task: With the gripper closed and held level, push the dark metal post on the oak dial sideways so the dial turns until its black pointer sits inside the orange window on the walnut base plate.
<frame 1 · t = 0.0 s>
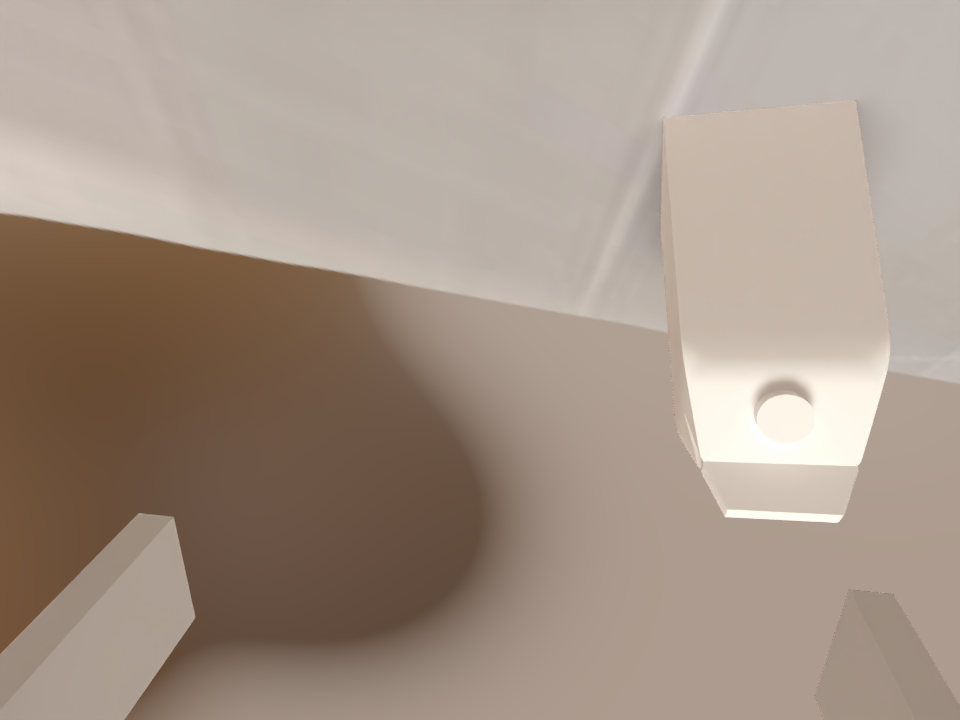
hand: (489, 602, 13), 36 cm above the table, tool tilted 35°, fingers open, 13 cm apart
milk: (745, 170, 49), on the table
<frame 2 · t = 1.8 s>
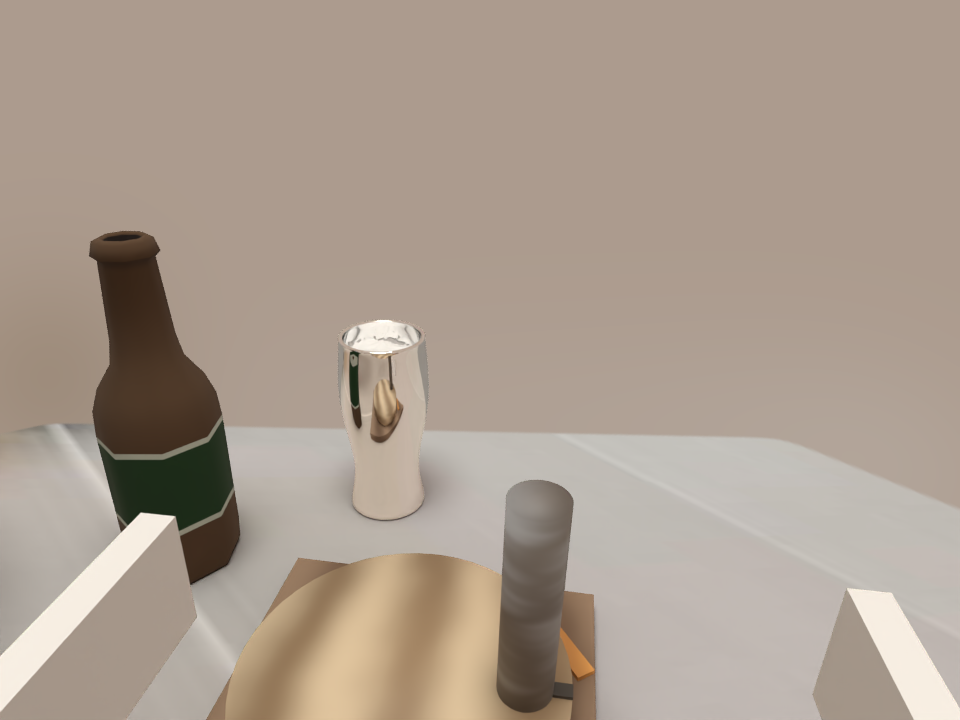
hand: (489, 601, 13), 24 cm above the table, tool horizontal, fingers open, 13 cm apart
cam dial: (401, 606, 33), point 9 cm above the table, hinge at 0.0°
beer bottle: (188, 553, 49), on the table
beer glass: (388, 499, 56), on the table
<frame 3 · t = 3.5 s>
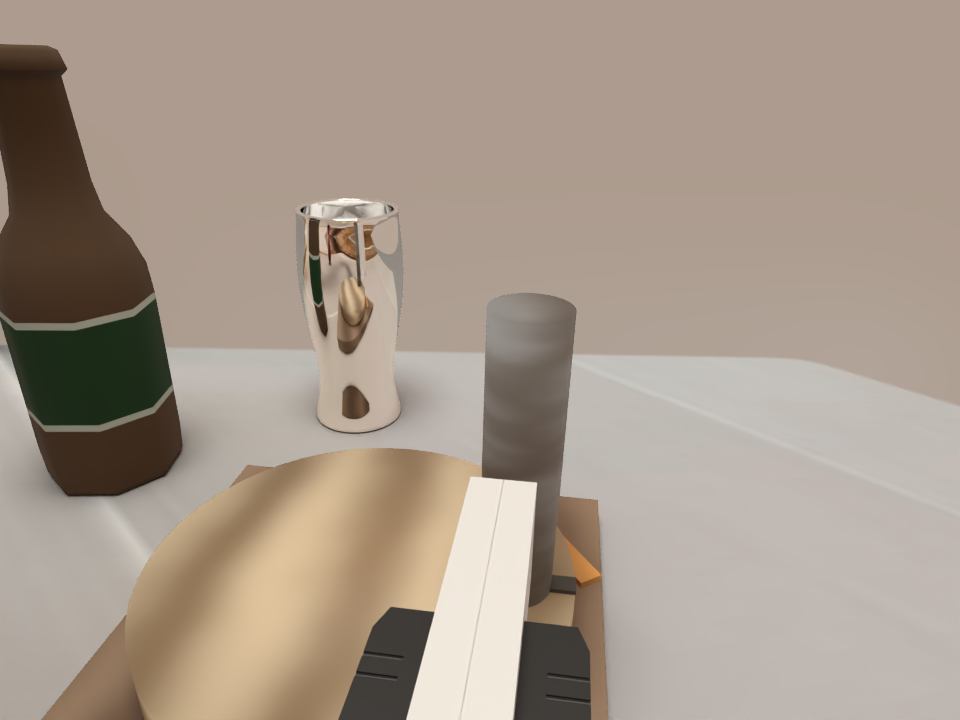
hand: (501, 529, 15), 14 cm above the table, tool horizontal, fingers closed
cam dial: (356, 474, 26), point 9 cm above the table, hinge at 0.0°
dial base: (367, 638, 30), on the table
beer bottle: (119, 465, 42), on the table
beer glass: (359, 414, 48), on the table
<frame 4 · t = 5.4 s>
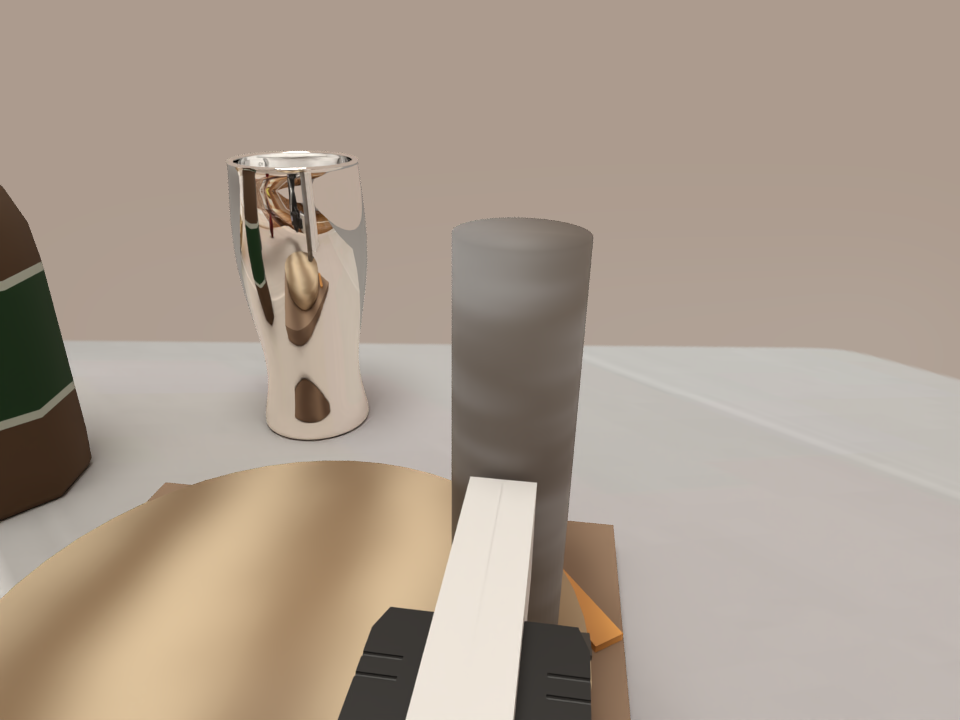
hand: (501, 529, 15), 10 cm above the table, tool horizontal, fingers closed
cam dial: (263, 505, 17), point 9 cm above the table, hinge at 4.1°, touching gripper
beer bottle: (8, 484, 33), on the table
beer glass: (318, 417, 40), on the table
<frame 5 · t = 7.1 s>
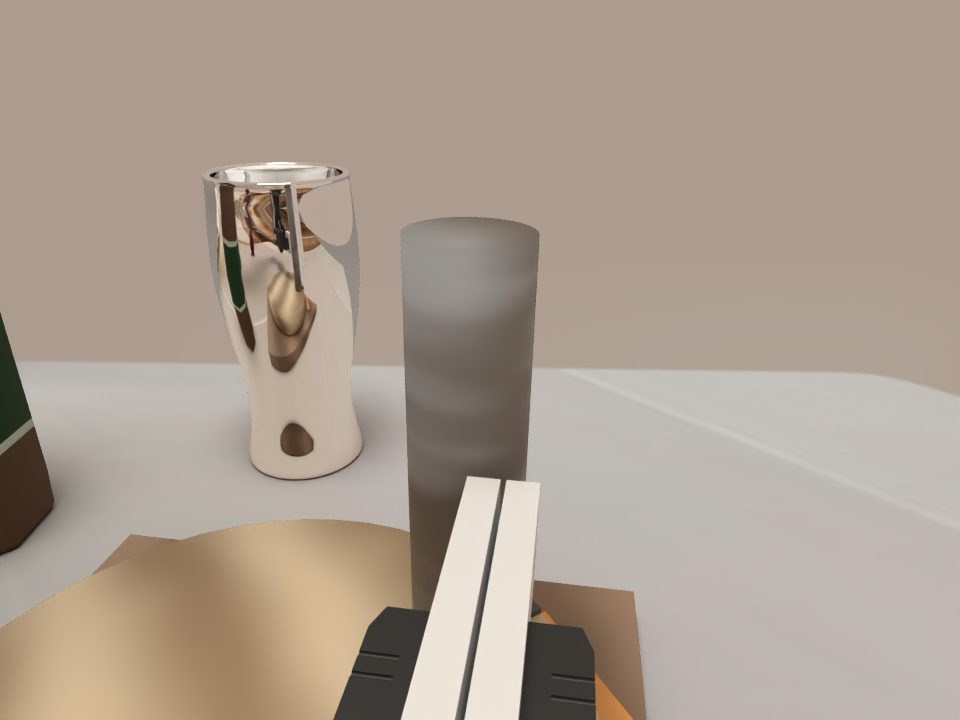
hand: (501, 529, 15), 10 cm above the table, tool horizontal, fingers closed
cam dial: (209, 616, 14), point 9 cm above the table, hinge at 41.5°
beer glass: (307, 452, 37), on the table
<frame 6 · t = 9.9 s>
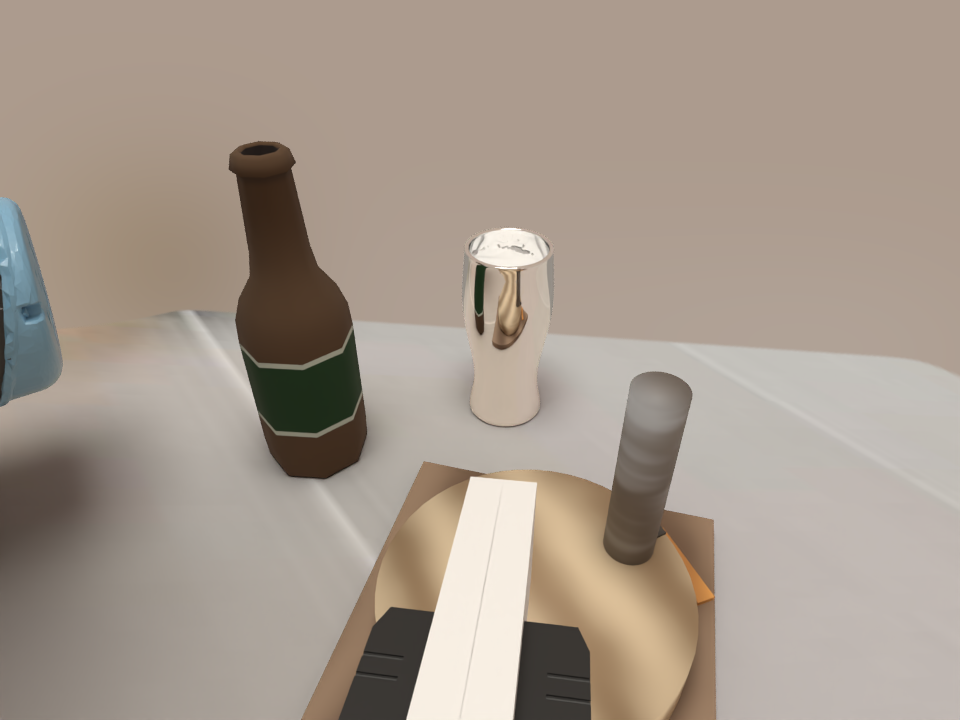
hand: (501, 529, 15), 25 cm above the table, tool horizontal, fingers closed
cam dial: (538, 535, 35), point 9 cm above the table, hinge at 41.6°
dial base: (531, 629, 40), on the table
beer bottle: (320, 448, 53), on the table
beer glass: (504, 405, 57), on the table
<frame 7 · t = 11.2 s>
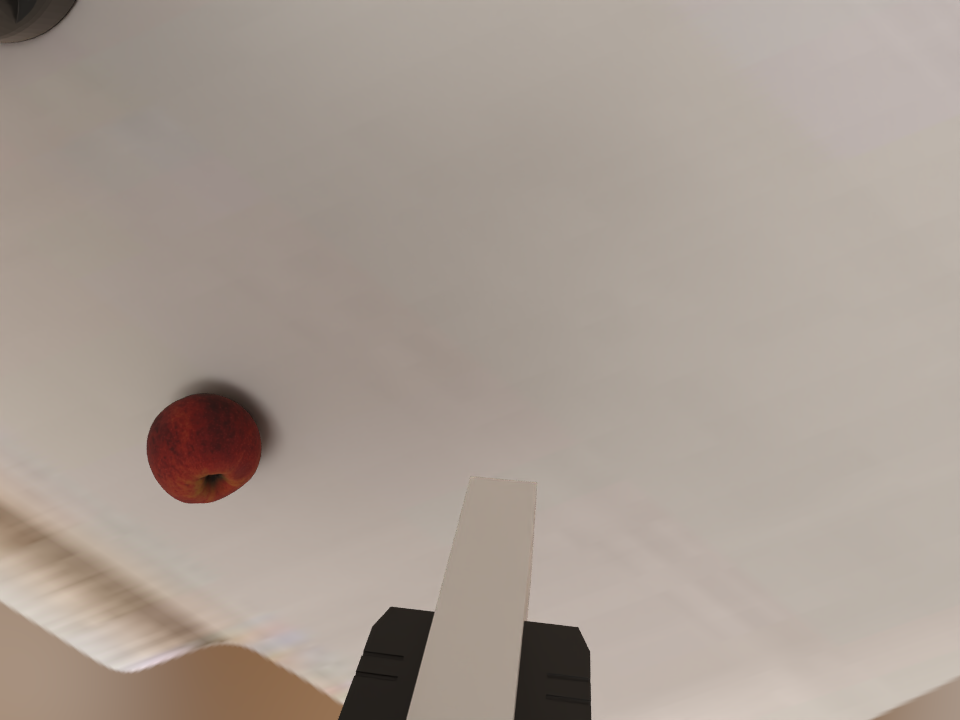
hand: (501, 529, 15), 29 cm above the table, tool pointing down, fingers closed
apple: (230, 420, 51), on the table
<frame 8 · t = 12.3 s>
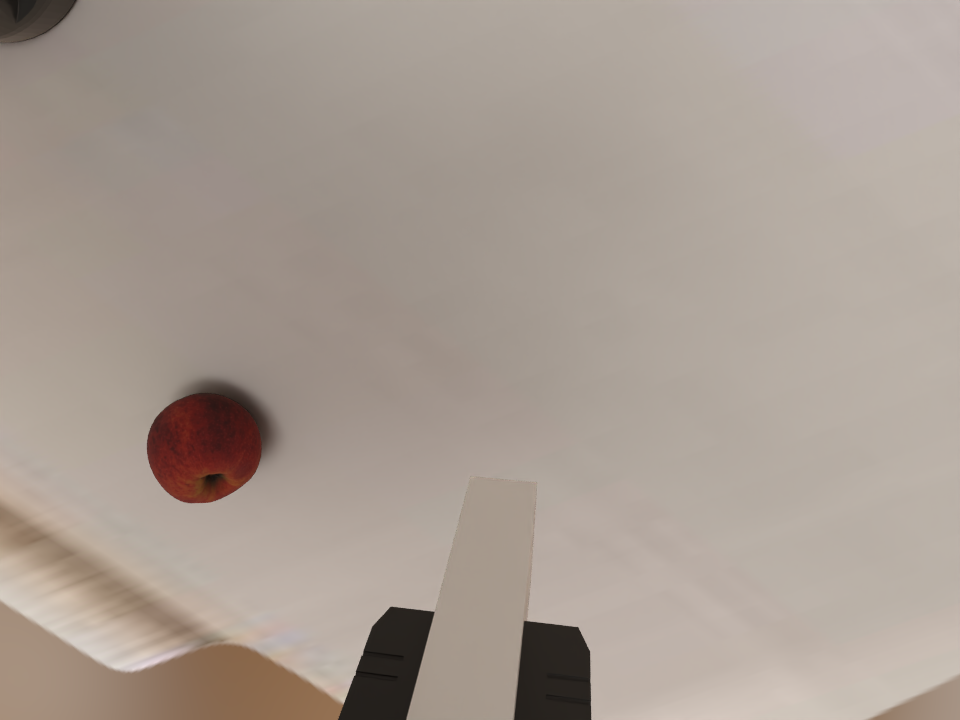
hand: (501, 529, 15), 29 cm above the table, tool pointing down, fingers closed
apple: (231, 420, 51), on the table
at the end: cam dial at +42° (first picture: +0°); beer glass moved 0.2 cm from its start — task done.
